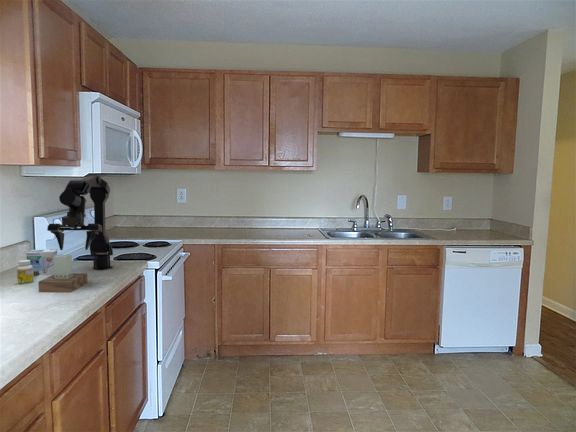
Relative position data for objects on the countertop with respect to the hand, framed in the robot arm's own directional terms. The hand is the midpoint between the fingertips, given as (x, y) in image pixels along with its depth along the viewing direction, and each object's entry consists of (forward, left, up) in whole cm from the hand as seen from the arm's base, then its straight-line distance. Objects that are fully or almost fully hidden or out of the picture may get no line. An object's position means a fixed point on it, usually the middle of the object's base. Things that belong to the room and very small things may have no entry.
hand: (73, 249), depth 160 cm
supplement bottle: (+8, -21, -15) cm, 27 cm away
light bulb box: (-4, -31, -15) cm, 35 cm away
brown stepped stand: (+3, -2, -15) cm, 16 cm away
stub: (+3, -2, -14) cm, 15 cm away
